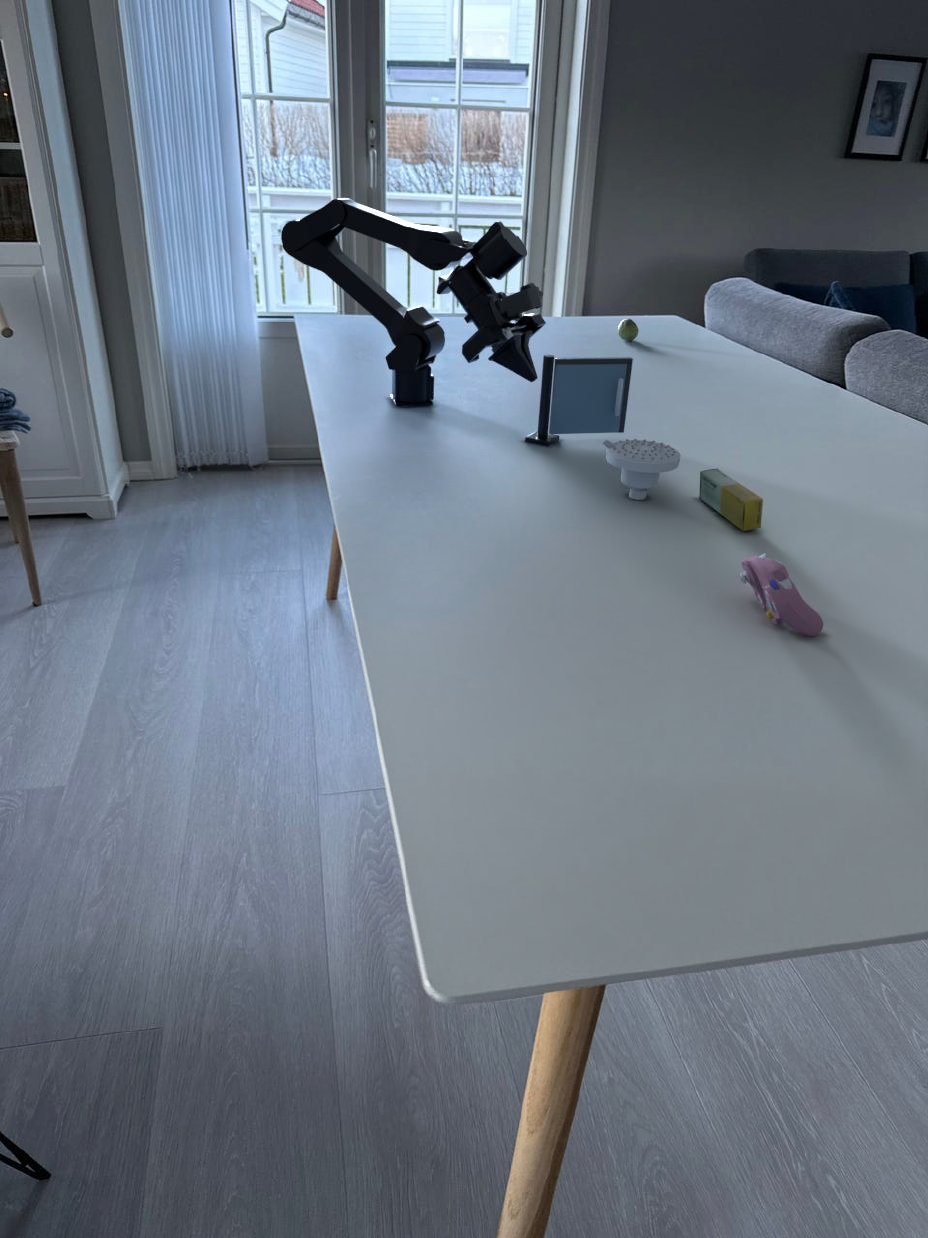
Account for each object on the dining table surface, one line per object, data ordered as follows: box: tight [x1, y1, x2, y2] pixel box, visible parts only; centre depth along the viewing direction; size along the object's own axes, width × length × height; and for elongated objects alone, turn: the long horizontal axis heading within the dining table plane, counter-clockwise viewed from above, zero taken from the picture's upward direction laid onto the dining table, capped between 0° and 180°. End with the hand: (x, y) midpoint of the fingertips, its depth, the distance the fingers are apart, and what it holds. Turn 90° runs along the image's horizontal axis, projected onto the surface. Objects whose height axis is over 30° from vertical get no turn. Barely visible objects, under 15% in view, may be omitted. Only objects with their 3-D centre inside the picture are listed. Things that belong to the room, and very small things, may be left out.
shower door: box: [548, 356, 634, 435], centre depth 137 cm, size 2×12×11 cm, turn 102°
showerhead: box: [602, 438, 681, 501], centre depth 117 cm, size 9×7×10 cm
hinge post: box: [524, 354, 560, 448], centre depth 136 cm, size 4×4×13 cm
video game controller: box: [739, 552, 824, 637], centre depth 89 cm, size 10×5×7 cm, turn 5°
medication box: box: [698, 468, 764, 532], centre depth 113 cm, size 12×3×4 cm, turn 13°
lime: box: [617, 318, 639, 342], centre depth 212 cm, size 4×5×5 cm
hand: (534, 380), depth 145 cm, fingers closed
